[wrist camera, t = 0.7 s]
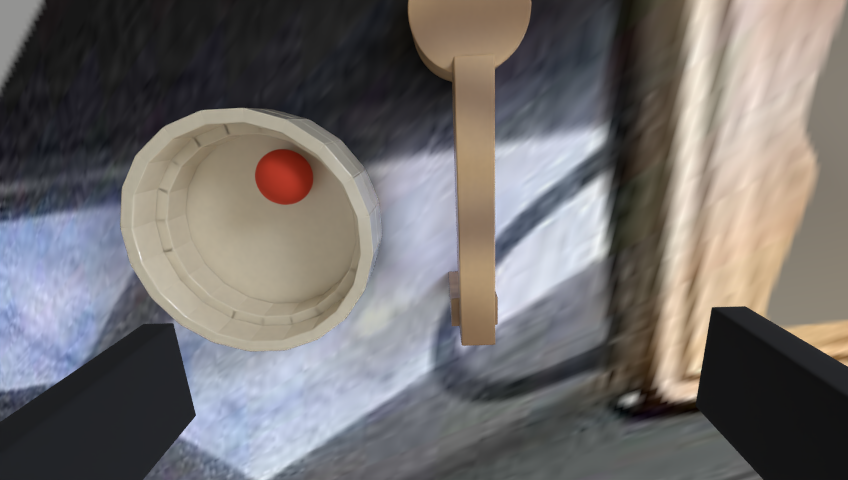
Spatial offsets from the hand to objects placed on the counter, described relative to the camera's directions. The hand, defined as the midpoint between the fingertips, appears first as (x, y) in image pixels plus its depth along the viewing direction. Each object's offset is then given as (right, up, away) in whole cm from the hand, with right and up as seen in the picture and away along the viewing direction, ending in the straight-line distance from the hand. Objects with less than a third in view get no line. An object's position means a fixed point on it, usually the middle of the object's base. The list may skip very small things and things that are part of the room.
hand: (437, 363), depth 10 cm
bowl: (-11, +4, +20) cm, 23 cm away
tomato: (-9, +7, +16) cm, 20 cm away
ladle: (+3, +9, +18) cm, 20 cm away
